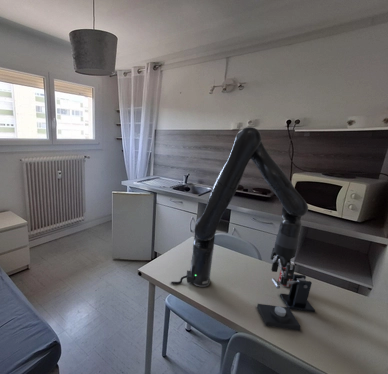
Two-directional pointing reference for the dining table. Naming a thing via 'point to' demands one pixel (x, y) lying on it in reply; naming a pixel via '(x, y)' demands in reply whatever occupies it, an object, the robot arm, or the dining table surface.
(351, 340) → the dining table surface
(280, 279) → the soda can
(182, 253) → the dining table surface
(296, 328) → the flush panel
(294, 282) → the flush lever
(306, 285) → the bracket
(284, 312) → the flush button
